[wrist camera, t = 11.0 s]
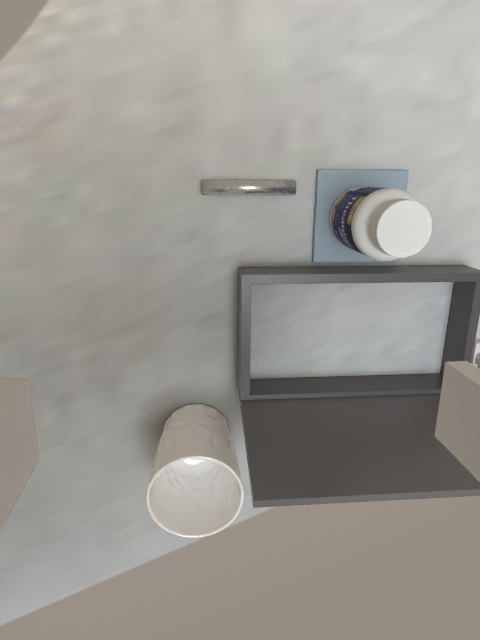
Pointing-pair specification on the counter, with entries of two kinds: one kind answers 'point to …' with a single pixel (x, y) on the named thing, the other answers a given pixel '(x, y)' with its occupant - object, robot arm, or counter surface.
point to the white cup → (195, 474)
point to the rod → (248, 187)
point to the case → (354, 408)
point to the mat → (327, 193)
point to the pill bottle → (380, 222)
